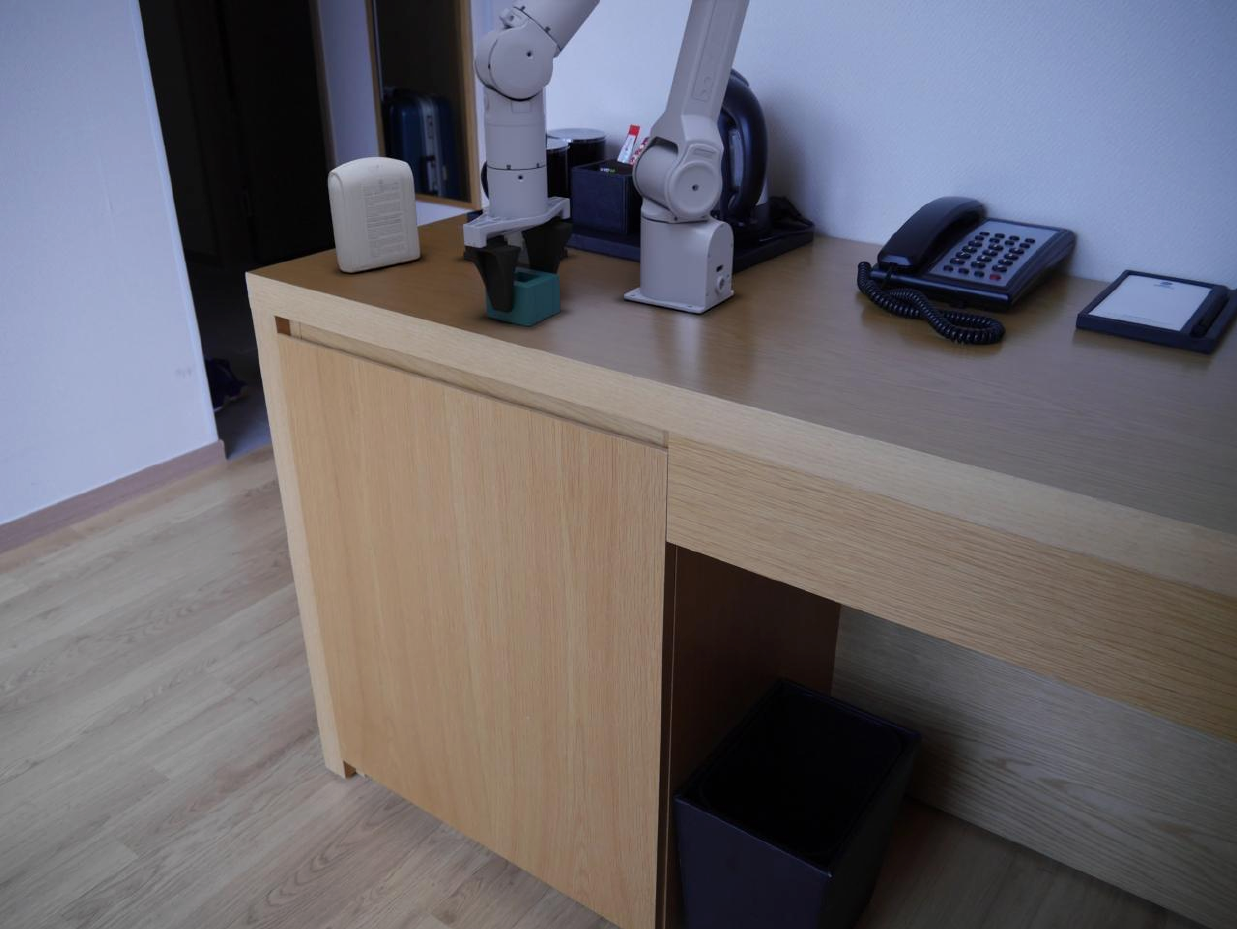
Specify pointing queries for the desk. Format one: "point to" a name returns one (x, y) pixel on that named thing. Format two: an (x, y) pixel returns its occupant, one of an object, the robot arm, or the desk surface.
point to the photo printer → (373, 213)
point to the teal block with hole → (530, 298)
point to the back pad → (523, 256)
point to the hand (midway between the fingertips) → (523, 301)
